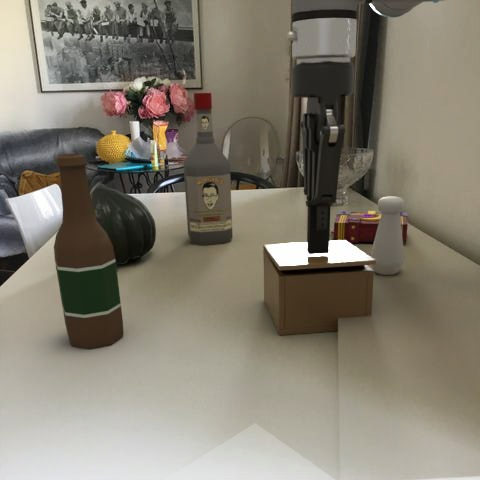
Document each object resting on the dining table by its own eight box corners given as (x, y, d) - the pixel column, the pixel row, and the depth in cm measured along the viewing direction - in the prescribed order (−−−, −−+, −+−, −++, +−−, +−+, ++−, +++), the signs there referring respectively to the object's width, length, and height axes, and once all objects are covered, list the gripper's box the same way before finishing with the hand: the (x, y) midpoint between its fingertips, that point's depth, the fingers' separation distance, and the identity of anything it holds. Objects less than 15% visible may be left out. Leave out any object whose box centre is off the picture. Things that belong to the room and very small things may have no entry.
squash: (179, 231, 109) (140, 168, 111) (114, 251, 99) (72, 182, 101) (151, 268, 119) (115, 210, 121) (90, 289, 110) (52, 226, 112)
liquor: (187, 236, 128) (178, 93, 116) (227, 233, 129) (221, 92, 118) (191, 246, 120) (181, 93, 108) (234, 243, 121) (229, 92, 110)
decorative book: (406, 245, 115) (408, 221, 113) (327, 243, 119) (327, 219, 117) (405, 232, 125) (407, 209, 123) (332, 230, 129) (332, 208, 127)
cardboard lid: (376, 264, 73) (376, 260, 73) (279, 270, 72) (279, 266, 71) (345, 243, 86) (345, 239, 86) (263, 248, 85) (263, 244, 85)
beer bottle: (119, 348, 73) (95, 157, 64) (59, 350, 73) (26, 160, 64) (129, 325, 80) (109, 150, 71) (75, 327, 81) (47, 152, 71)
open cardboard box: (370, 328, 77) (374, 270, 74) (279, 335, 76) (278, 276, 73) (342, 295, 89) (345, 244, 86) (264, 300, 88) (263, 248, 85)
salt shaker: (387, 278, 96) (393, 202, 91) (362, 271, 100) (366, 197, 95) (410, 271, 99) (416, 197, 94) (384, 264, 104) (389, 193, 99)
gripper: (282, 64, 74) (282, 241, 83) (303, 60, 62) (300, 267, 71) (338, 63, 74) (332, 239, 83) (370, 58, 62) (359, 264, 71)
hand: (317, 252), depth 77 cm, fingers closed
